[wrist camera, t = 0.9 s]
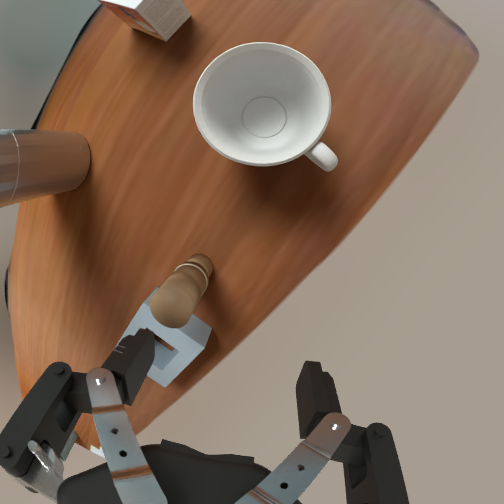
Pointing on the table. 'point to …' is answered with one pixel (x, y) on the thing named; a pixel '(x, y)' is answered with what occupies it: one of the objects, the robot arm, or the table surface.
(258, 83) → the teacup
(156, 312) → the walnut peg
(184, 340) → the hole block
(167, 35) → the small box
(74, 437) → the grey-green cup
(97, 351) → the table surface
